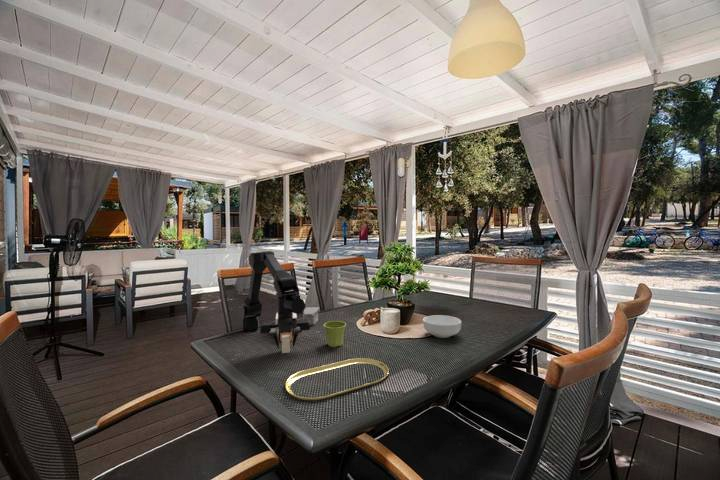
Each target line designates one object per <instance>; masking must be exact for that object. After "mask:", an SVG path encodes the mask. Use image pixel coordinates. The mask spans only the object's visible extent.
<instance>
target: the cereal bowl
mask: <svg viewBox="0 0 720 480" xmlns="http://www.w3.org/2000/svg"><path fill="white" fill-rule="evenodd" d="M422 324H423V328H424V330H425V331H426V332H427V333H429V334H431V335H433V336H434V337H436V338H440V339H446V338H450V337H451V336H455V335H457V334H458V333H459V332H460V331H461V328H462V320H461V319H460V318H458V317H454V316H452V315H451V316H450V315H444V314H436V315H428V316H425V317H423V319H422Z"/></svg>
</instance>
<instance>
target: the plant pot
mask: <svg viewBox="0 0 720 480" xmlns="http://www.w3.org/2000/svg"><path fill="white" fill-rule="evenodd" d="M346 326H347V323H346V322H344V321H342V320H341V321H340V320H331V321H327V322H324V324H323V328H324V330H325V334H326V341H327V345H328V346H329V347H330V348H337V347H341V346H342V345H343V343H344V342H343V340H344V334H345V329H346Z"/></svg>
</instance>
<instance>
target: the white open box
mask: <svg viewBox="0 0 720 480" xmlns="http://www.w3.org/2000/svg"><path fill="white" fill-rule="evenodd" d="M297 315H298V314H295V313H293V319H295V318H297V317H298V316H297ZM297 319H298V318H297ZM275 324H278V312H276V314H275ZM277 332H278V337H279V335H280V333H279V329H277Z"/></svg>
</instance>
